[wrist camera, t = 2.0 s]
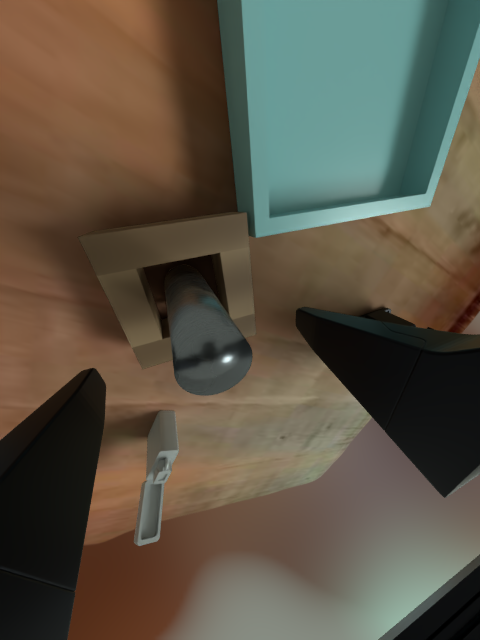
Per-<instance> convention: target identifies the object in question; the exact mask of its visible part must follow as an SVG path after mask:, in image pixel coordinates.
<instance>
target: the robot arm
mask: <svg viewBox="0 0 480 640" xmlns="http://www.w3.org/2000/svg"><path fill="white" fill-rule="evenodd" d="M296 327H297V329H298V330H299V331H300V333H301V334H302V336H303V337H304V338H305V340H306V341H307V343H308V344H309V345H310V347H311V348H312V349H313V351H314V352H315V353H316V354H317V355H318V356H319V358H320V359H321V360H322V361H323V362H324V363H325V364H326V366H327V367H328V368H329V369H330V370H331V371H332V372H333V373H334V375H335V376H336V377H337V378H338V379H339V380H340V381H341V382H342V384H343V385H344V386H345V387H346V388H347V389H348V390H349V391H350V393H351V394H352V395H353V396H354V397H355V398H356V399H357V400H358V402H359V403H360V404H361V405H362V406H363V407H364V408H365V410H366V411H367V412H368V413H369V414H370V415H371V416H372V417H373V418H374V420H375V421H376V422H377V423H378V424H379V425H380V426H381V427H382V429H383V430H385V432H386V433H387V435H388V436H389V437H390V438H391V439H392V440H393V441H394V442H395V443H396V445H397V446H398V447H399V448H400V449H401V450H402V451H403V452H404V454H405V455H406V456H407V457H408V458H409V459H410V460H411V461H412V463H413V464H414V465H415V466H416V467H417V468H418V470H420V472H421V473H422V474H423V475H424V476H425V477H426V478H427V480H428V481H429V482H430V483H431V484H432V485H433V486H434V487H435V489H436V490H437V491H438V492H439V493H440V494H441V495H442V496H443V497H444V498H446V497H447V496H449V495H450V494H452V493H453V492H455V491H456V490H457V489H459V488H460V487H462V486H463V485H465V484H466V483H468V482H469V481H470V480H472V479H473V478H475V477H476V476H478V475H479V474H480V335H468V334H459V333H452V332H445V331H438V330H434V329H432V328H429V327H428V328H427V329H424V328H418V327H416V325H415V324H413V323H411V322H408V321H406V320H404V319H402V318H400V317H397V316H395V315H393V314H391V309H389V308H384V309H381V310H378V311H375V312H372V313H369V314H366V315H363V316H360V317H356V316H351V315H346V314H340V313H335V312H330V311H324V310H319V309H314V308H309V307H302V308H299V309H297V310H296ZM105 400H106V385H105V382H104V380H103V379H102V377H101V376H100V374H99V373H98V371H97V370H96V369H95V368H90V369H87V370H83V371H81V372H80V373H79V374H78V375H76V376H75V377H74V378H73V379H72V380H70V381H69V382H68V383H67V384H66V385H65V386H63V387H62V388H61V389H60V390H59V391H58V392H56V393H55V394H54V395H53V396H52V397H51V398H49V399H48V400H47V401H46V402H45V403H44V404H42V405H41V406H40V407H39V408H38V409H36V410H35V411H34V412H33V413H32V414H31V415H29V416H28V417H27V418H26V419H25V420H24V421H22V422H21V423H20V424H19V425H18V426H17V427H15V428H14V429H13V430H12V431H11V432H10V433H8V434H7V435H6V436H5V437H4V438H3V439H1V440H0V640H67V638H68V632H69V626H70V620H71V614H72V609H73V603H74V597H75V592H74V591H75V590H76V584H77V579H78V573H79V567H80V562H81V556H82V550H83V544H84V539H85V533H86V527H87V521H88V515H89V510H90V504H91V498H92V492H93V487H94V481H95V475H96V469H97V464H98V458H99V452H100V446H101V440H102V435H103V429H104V420H105ZM378 640H480V555H479V556H477V557H476V558H475V559H474V560H473V561H471V562H470V563H469V564H468V565H467V566H466V567H464V568H463V569H462V570H461V571H460V572H458V573H457V574H456V575H455V576H453V577H452V578H451V579H450V580H449V581H447V582H446V583H445V584H444V585H443V586H442V587H440V588H439V589H438V590H437V591H436V592H434V593H433V594H432V595H431V596H430V597H428V598H427V599H426V600H425V601H424V602H422V603H421V604H420V605H419V606H418V607H417V608H415V609H414V610H413V611H412V612H411V613H409V614H408V615H407V616H406V617H405V618H403V619H402V620H401V621H400V622H399V623H397V624H396V625H395V626H394V627H393V628H391V629H390V630H389V631H388V632H387V633H385V634H384V635H383V636H382V637H381V638H379V639H378Z"/></svg>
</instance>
